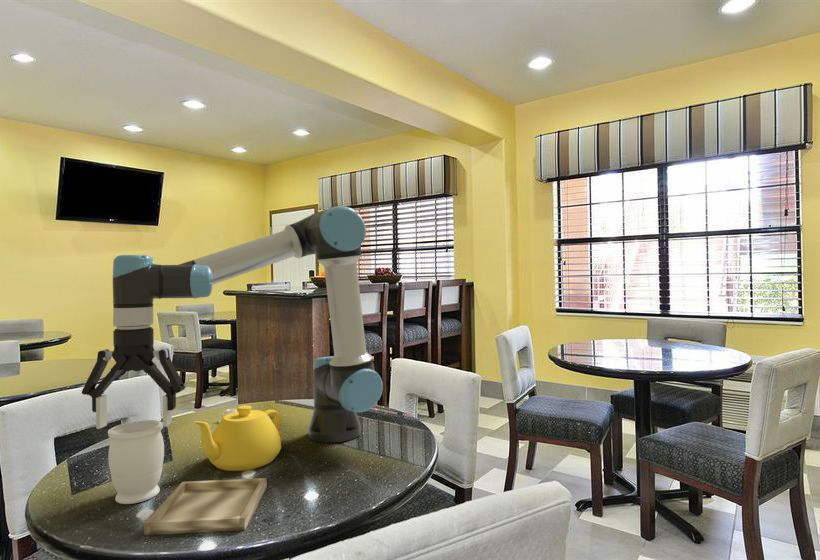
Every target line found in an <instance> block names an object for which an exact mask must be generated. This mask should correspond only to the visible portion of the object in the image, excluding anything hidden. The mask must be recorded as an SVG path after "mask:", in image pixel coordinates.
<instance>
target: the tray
mask: <svg viewBox="0 0 820 560" xmlns="http://www.w3.org/2000/svg"><path fill="white" fill-rule="evenodd" d="M267 479H268V478H267V477H264V478H263V477H260V478H258V477H257V478H239V479H238V478H237V479H216V480H215V479H213V480H195V481H194V480H193V481H182V482H181V483H180V484H179V485H178V486H177V487H176V488H175V489H174V490H173V492H172V493H171V494H170V495H169V496H168V497H167V498H166V499H165V500H164V501H163V502H162V503H161V504H160V505H159V506H158V508H157V509H156V510H154V511H153V513H152V514H151V515H150V516H149V517H148V518H147V519H146V520H145V521H144V523H143V535H144V536H157V535H174V534H175V535H177V534H195V533H199V534H200V533H212V532H213V533H214V532H216V533H217V532H234V531H246V529H247V527H248V524H249V523H250V521H251V520H252V517H253V515H254V514H255V511H256V510H257V508H258V505H259V504H260V502H261V500H262V498H263V496H264V494H265V492H266V490H267V488H268V487H267V486H268V484H267V483H268V482H267Z"/></svg>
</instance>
